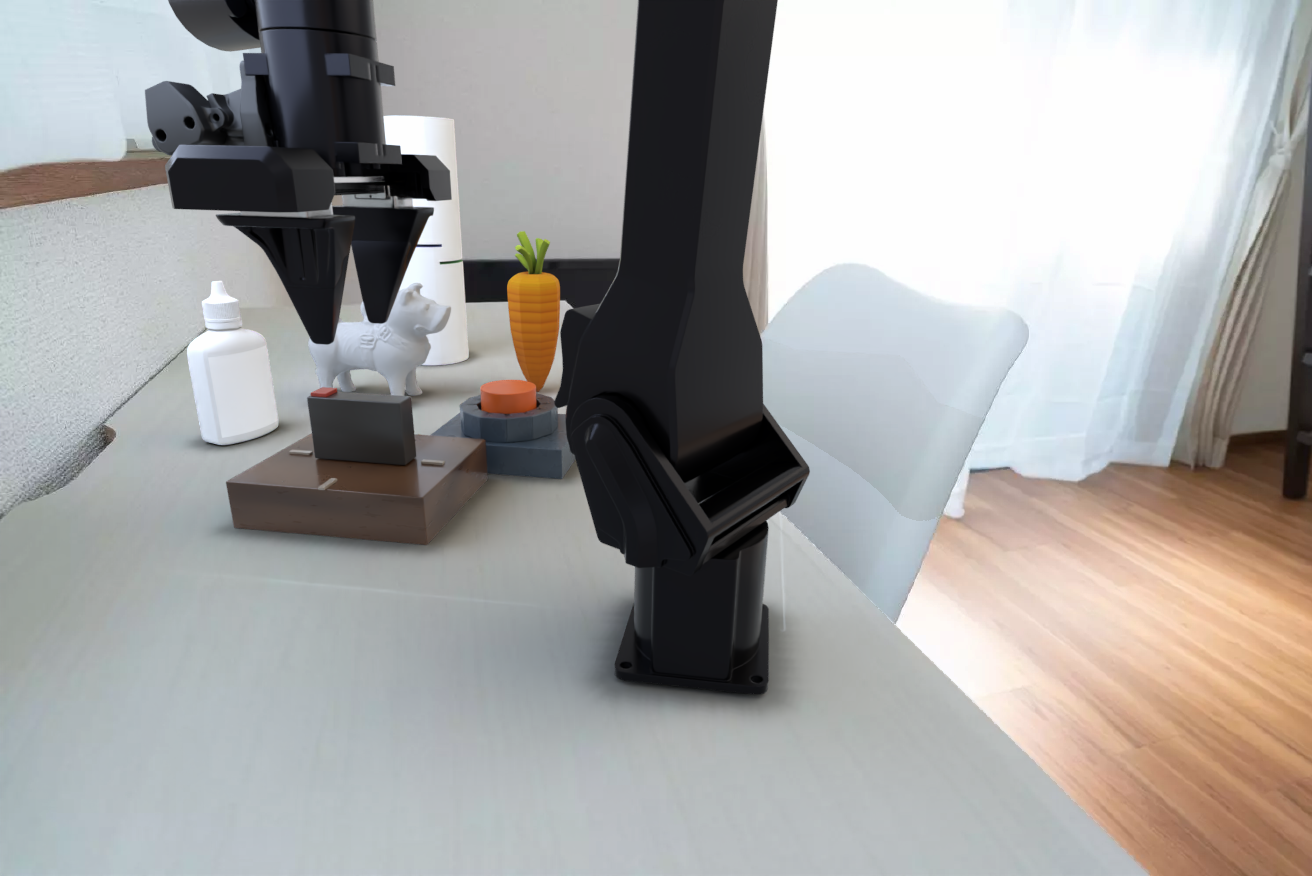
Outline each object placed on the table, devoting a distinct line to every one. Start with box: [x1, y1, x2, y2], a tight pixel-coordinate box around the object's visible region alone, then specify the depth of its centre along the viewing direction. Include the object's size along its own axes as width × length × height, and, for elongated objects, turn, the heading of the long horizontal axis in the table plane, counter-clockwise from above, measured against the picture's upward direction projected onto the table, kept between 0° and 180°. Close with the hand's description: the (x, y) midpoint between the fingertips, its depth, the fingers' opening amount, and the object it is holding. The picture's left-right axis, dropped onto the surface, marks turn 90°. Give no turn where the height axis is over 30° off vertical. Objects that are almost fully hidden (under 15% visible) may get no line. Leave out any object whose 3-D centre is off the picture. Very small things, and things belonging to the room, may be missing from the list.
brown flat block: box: [225, 432, 489, 546], centre depth 48 cm, size 10×12×3 cm
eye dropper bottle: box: [186, 280, 280, 446], centre depth 58 cm, size 4×6×12 cm
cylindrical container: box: [383, 115, 470, 366], centre depth 81 cm, size 7×7×25 cm
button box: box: [430, 392, 576, 480], centre depth 56 cm, size 8×10×4 cm
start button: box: [479, 379, 537, 414], centre depth 56 cm, size 4×4×2 cm
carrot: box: [506, 230, 561, 393], centre depth 71 cm, size 5×5×15 cm
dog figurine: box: [307, 282, 451, 396], centre depth 68 cm, size 5×13×11 cm, turn 87°
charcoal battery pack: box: [306, 387, 416, 465], centre depth 47 cm, size 6×2×4 cm, turn 81°
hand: (352, 332), depth 45 cm, fingers open, 6 cm apart
